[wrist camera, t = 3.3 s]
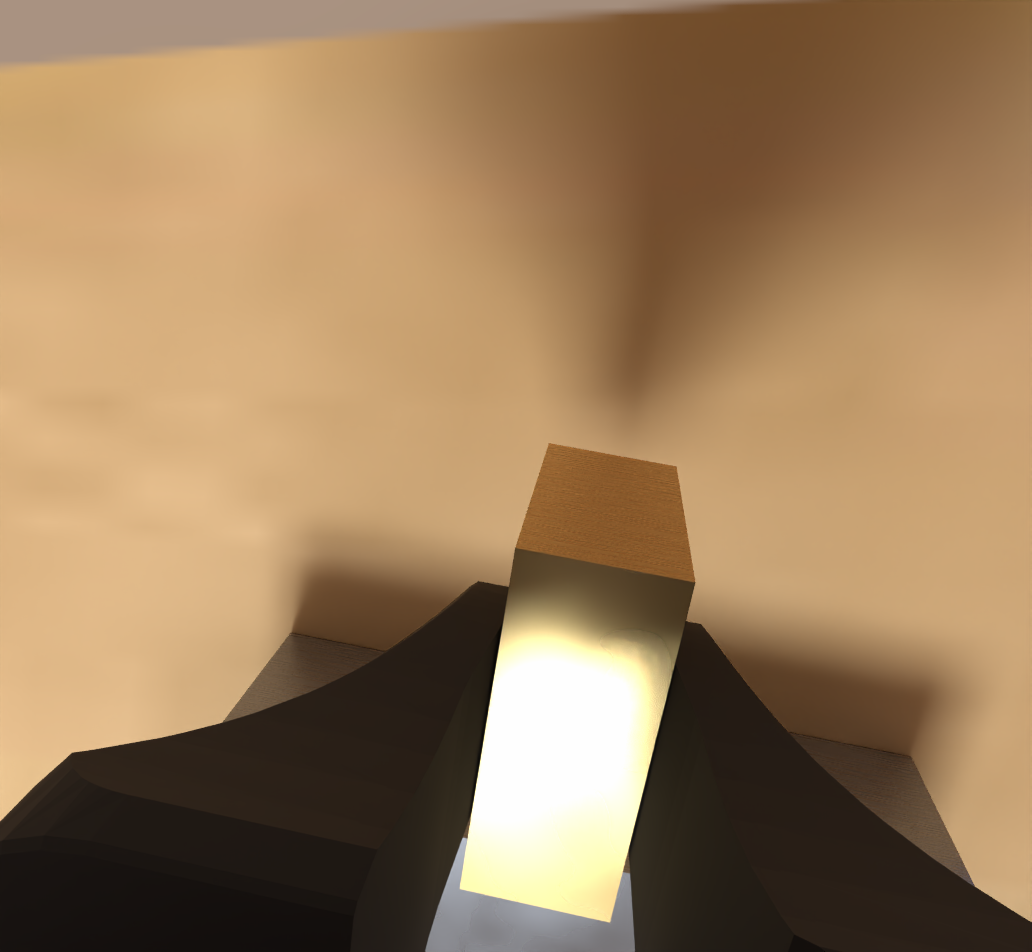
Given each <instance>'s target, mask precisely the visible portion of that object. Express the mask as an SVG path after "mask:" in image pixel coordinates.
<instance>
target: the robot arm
mask: <svg viewBox="0 0 1032 952" xmlns="http://www.w3.org/2000/svg"><path fill="white" fill-rule="evenodd" d="M508 590H509V587H505V586H500V585H495V584H489V583H484V582H479V581H478V582H477V583H475V584H474V585H472V586H470V587H469V588H468V589H467V590H466V591H465V592H463V593H462V594H461V595H460V596H459V597H458V598H457V599H455V600H454V601H453V602H452V603H451V604H450V605H448V606H447V607H446V608H445V609H443V610H442V611H441V612H440V613H439V614H437V615H436V616H435V617H434V618H432V619H431V620H430V621H428V622H427V623H426V624H424V625H423V626H422V627H420V628H419V629H418V630H416V631H415V632H414V633H412V634H411V635H410V636H408V637H407V638H405V639H404V640H403V641H401V642H400V643H398V644H397V645H395V646H393V647H392V648H390V649H389V650H387V651H386V652H384V653H383V654H381V655H380V656H378V657H376V658H375V659H373V660H372V661H370V662H369V663H367V664H365V665H364V666H362V667H360V668H358V669H357V670H355V671H353V672H351V673H349V674H347V675H345V676H343V677H341V678H339V679H337V680H335V681H333V682H331V683H328V684H326V685H324V686H322V687H320V688H318V689H316V690H313V691H311V692H309V693H306V694H303V695H301V696H298V697H295V698H293V699H290V700H287V701H285V702H282V703H280V704H277V705H274V706H272V707H269V708H266V709H264V710H261V711H258V712H256V713H253V714H250V715H246V716H243V717H240V718H236V719H233V720H230V721H226V722H223V723H220V724H216V725H212V726H208V727H204V728H200V729H196V730H193V731H189V732H185V733H181V734H176V735H172V736H167V737H163V738H157V739H152V740H146V741H141V742H135V743H129V744H124V745H118V746H112V747H107V748H101V749H95V750H89V751H82V752H75V753H72V754H71V755H69V756H68V757H67V758H66V759H65V760H64V761H63V762H62V763H60V764H59V765H58V766H57V767H56V768H55V769H54V770H53V771H51V772H50V773H49V774H48V775H47V776H46V777H45V778H44V779H42V780H41V781H40V782H39V783H38V784H37V785H36V786H35V787H34V788H33V789H32V790H31V791H30V792H29V793H28V794H27V795H26V796H25V797H24V798H23V799H22V800H21V801H20V802H19V803H18V804H17V805H16V806H15V807H14V808H13V809H12V810H11V811H10V812H9V813H8V814H7V815H6V816H5V817H4V818H3V819H2V820H1V821H0V952H425V950H426V946H427V942H428V938H429V935H430V931H431V928H432V925H433V922H434V918H435V915H436V912H437V909H438V905H439V903H440V900H441V897H442V894H443V891H444V889H445V886H446V883H447V880H448V877H449V875H450V872H451V869H452V866H453V863H454V861H455V858H456V855H457V852H458V849H459V847H460V844H461V841H462V838H463V835H464V833H465V830H466V827H467V824H468V821H469V819H470V816H471V813H472V810H473V804H474V798H475V792H476V786H477V780H478V773H479V767H480V761H481V755H482V749H483V743H484V737H485V731H486V725H487V718H488V712H489V706H490V700H491V694H492V688H493V682H494V676H495V670H496V663H497V657H498V651H499V645H500V639H501V633H502V627H503V621H504V615H505V608H506V602H507V596H508ZM628 850H629V865H630V881H631V896H632V911H633V927H634V942H635V952H1032V922H1030V921H1028V920H1027V919H1025V918H1023V917H1022V916H1020V915H1018V914H1017V913H1015V912H1014V911H1012V910H1011V909H1009V908H1007V907H1006V906H1004V905H1003V904H1001V903H1000V902H998V901H996V900H995V899H993V898H992V897H990V896H989V895H987V894H985V893H984V892H982V891H981V890H979V889H978V888H976V887H975V886H973V885H971V884H970V883H968V882H967V881H965V880H964V879H962V878H961V877H959V876H958V875H957V874H955V873H954V872H952V871H951V870H949V869H948V868H946V867H945V866H943V865H942V864H941V863H939V862H938V861H936V860H935V859H933V858H932V857H931V856H929V855H928V854H927V853H925V852H924V851H923V850H921V849H920V848H919V847H917V846H916V845H915V844H913V843H912V842H911V841H909V840H908V839H907V838H905V837H904V836H903V835H901V834H900V833H899V832H897V831H896V830H895V829H894V828H892V827H891V826H890V825H888V824H887V823H886V822H884V821H883V820H882V819H881V818H879V817H878V816H877V815H876V814H875V813H873V812H872V811H871V810H870V809H868V808H867V807H866V806H865V805H864V804H862V803H861V802H860V801H859V800H858V799H857V798H856V797H855V796H853V795H852V794H851V793H850V792H849V791H848V790H847V789H846V788H845V787H843V786H842V785H841V784H840V783H839V782H838V781H837V780H836V779H835V778H833V777H832V776H831V775H830V774H829V773H828V772H827V771H826V770H825V769H824V768H823V767H822V766H820V765H819V764H818V763H817V762H816V761H815V760H814V759H813V758H812V757H811V756H810V755H809V754H808V753H807V752H806V751H805V750H804V748H803V747H802V746H801V745H800V744H799V743H798V742H797V741H796V740H795V739H794V738H793V737H792V736H791V735H790V734H789V732H788V731H787V730H786V729H785V728H784V727H783V726H782V725H781V724H780V723H779V722H778V721H777V719H776V718H775V717H774V716H773V715H772V714H771V713H770V711H769V710H768V709H767V708H766V707H765V706H764V704H763V703H762V702H761V701H760V700H759V698H758V697H757V696H756V695H755V693H754V692H753V691H752V690H751V689H750V687H749V686H748V685H747V684H746V682H745V681H744V680H743V679H742V677H741V676H740V675H739V673H738V672H737V671H736V670H735V668H734V667H733V666H732V664H731V663H730V662H729V660H728V659H727V658H726V656H725V655H724V654H723V652H722V651H721V650H720V648H719V647H718V646H717V644H716V643H715V642H714V640H713V639H712V638H711V636H710V635H709V634H708V632H707V631H706V630H705V629H704V627H703V626H702V625H701V624H697V623H692V622H687V621H686V622H685V626H684V630H683V634H682V638H681V642H680V646H679V650H678V653H677V657H676V661H675V665H674V669H673V673H672V677H671V681H670V685H669V689H668V693H667V697H666V701H665V705H664V709H663V713H662V717H661V721H660V725H659V729H658V733H657V737H656V741H655V745H654V749H653V753H652V757H651V761H650V765H649V769H648V773H647V777H646V781H645V785H644V789H643V793H642V797H641V801H640V805H639V809H638V813H637V817H636V821H635V825H634V829H633V833H632V837H631V841H630V845H629V849H628Z"/></svg>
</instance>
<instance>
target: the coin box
mask: <svg viewBox="0 0 1032 952" xmlns="http://www.w3.org/2000/svg"><path fill="white" fill-rule="evenodd" d="M383 653H384V651H379V650H374V649H369V648H364V647H359V646H354V645H349V644H344V643H339V642H334V641H329V640H324V639H319V638H314V637H309V636H304V635H299V634H294V633H290V635H289V636H288V637H287V638H286V640H285V641H284V642H283V644H282V645H281V646H280V648H279V649H278V650H277V652H276V653H275V654H274V656H273V657H272V658H271V660H270V661H269V662H268V663H267V665H266V666H265V667H264V669H263V670H262V671H261V673H260V674H259V675H258V677H257V678H256V679H255V681H254V682H253V683H252V684H251V686H250V687H249V688H248V690H247V691H246V692H245V694H244V695H243V696H242V698H241V699H240V700H239V702H238V703H237V704H236V705H235V707H234V708H233V709H232V711H231V712H230V713H229V715H228V716H227V717H226V719H225V720H224V721H223V722H226V721H230V720H233V719H236V718H240V717H243V716H246V715H250V714H253V713H256V712H258V711H261V710H264V709H266V708H269V707H272V706H274V705H277V704H280V703H282V702H285V701H287V700H290V699H293V698H295V697H298V696H301V695H303V694H306V693H309V692H311V691H313V690H316V689H318V688H320V687H322V686H324V685H326V684H328V683H331V682H333V681H335V680H337V679H339V678H341V677H343V676H345V675H347V674H349V673H351V672H353V671H355V670H357V669H358V668H360V667H362V666H364V665H365V664H367V663H369V662H370V661H372V660H373V659H375V658H376V657H378V656H380V655H381V654H383ZM789 734H790V735H791V736H792V737H793V738H794V739H795V740H796V741H797V742H798V743H799V744H800V745H801V746H802V747H803V748H804V750H805V751H806V752H807V753H808V754H809V755H810V756H811V757H812V758H813V759H814V760H815V761H816V762H817V763H818V764H819V765H820V766H822V767H823V768H824V769H825V770H826V771H827V772H828V773H829V774H830V775H831V776H832V777H833V778H835V779H836V780H837V781H838V782H839V783H840V784H841V785H842V786H843V787H845V788H846V789H847V790H848V791H849V792H850V793H851V794H852V795H853V796H855V797H856V798H857V799H858V800H859V801H860V802H861V803H862V804H864V805H865V806H866V807H867V808H868V809H870V810H871V811H872V812H873V813H875V814H876V815H877V816H878V817H879V818H881V819H882V820H883V821H884V822H886V823H887V824H888V825H890V826H891V827H892V828H894V829H895V830H896V831H897V832H899V833H900V834H901V835H903V836H904V837H905V838H907V839H908V840H909V841H911V842H912V843H913V844H915V845H916V846H917V847H919V848H920V849H921V850H923V851H924V852H925V853H927V854H928V855H929V856H931V857H932V858H933V859H935V860H936V861H938V862H939V863H941V864H942V865H943V866H945V867H946V868H948V869H949V870H951V871H952V872H954V873H955V874H957V875H958V876H959V877H961V878H962V879H964V880H965V881H967V882H968V883H970V884H971V885H973V886H974V884H973V882H972V880H971V878H970V876H969V874H968V872H967V870H966V868H965V866H964V864H963V861H962V859H961V857H960V855H959V853H958V851H957V849H956V847H955V845H954V843H953V841H952V839H951V837H950V835H949V833H948V831H947V829H946V827H945V825H944V823H943V821H942V819H941V817H940V815H939V813H938V811H937V809H936V807H935V805H934V803H933V801H932V799H931V796H930V794H929V792H928V790H927V788H926V786H925V784H924V782H923V780H922V778H921V776H920V774H919V772H918V770H917V768H916V766H915V764H914V762H913V760H912V758H911V757H909V756H904V755H899V754H894V753H889V752H884V751H879V750H874V749H869V748H864V747H859V746H854V745H849V744H844V743H839V742H834V741H829V740H824V739H819V738H814V737H809V736H804V735H799V734H794V733H789ZM471 816H472V813H471ZM471 816H470V819H469V821H468V824H467V827H466V830H465V833H464V835H463V838H462V841H461V844H460V847H459V849H458V852H457V855H456V858H455V861H454V863H453V866H452V869H451V872H450V875H449V877H448V880H447V883H446V886H445V889H444V891H443V894H442V897H441V900H440V903H439V905H438V909H437V912H436V915H435V918H434V922H433V925H432V928H431V931H430V935H429V938H428V942H427V946H426V950H425V952H635V942H634V927H633V911H632V896H631V881H630V865H629V850H628V853H627V857H626V861H625V865H624V869H623V873H622V877H621V881H620V884H619V888H618V892H617V896H616V900H615V904H614V908H613V912H612V916H611V920H610V923H609V922H605V921H600V920H596V919H591V918H587V917H582V916H578V915H574V914H569V913H565V912H560V911H556V910H551V909H547V908H542V907H538V906H533V905H529V904H525V903H520V902H516V901H511V900H507V899H502V898H498V897H493V896H489V895H484V894H480V893H476V892H471V891H467V890H462V889H460V883H461V877H462V871H463V865H464V859H465V853H466V847H467V841H468V835H469V828H470V822H471Z"/></svg>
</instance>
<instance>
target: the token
mask: <svg viewBox="0 0 1032 952" xmlns="http://www.w3.org/2000/svg"><path fill="white" fill-rule="evenodd" d="M694 586H695V577H694V571H693V565H692V559H691V553H690V547H689V541H688V534H687V528H686V522H685V516H684V510H683V504H682V498H681V492H680V485H679V479H678V473H677V467H676V466H671V465H665V464H660V463H654V462H649V461H643V460H638V459H632V458H627V457H621V456H616V455H610V454H605V453H599V452H594V451H588V450H583V449H577V448H572V447H567V446H561V445H556V444H550V443H549V445H548V448H547V451H546V454H545V457H544V460H543V463H542V467H541V470H540V473H539V476H538V479H537V482H536V485H535V488H534V491H533V495H532V498H531V501H530V504H529V507H528V510H527V513H526V516H525V520H524V523H523V526H522V529H521V532H520V535H519V538H518V541H517V544H516V548H515V553H514V560H513V566H512V572H511V578H510V584H509V590H508V596H507V602H506V608H505V615H504V621H503V627H502V633H501V639H500V645H499V651H498V657H497V663H496V670H495V676H494V682H493V688H492V694H491V700H490V706H489V712H488V718H487V725H486V731H485V737H484V743H483V749H482V755H481V761H480V767H479V773H478V780H477V786H476V792H475V798H474V804H473V810H472V816H471V822H470V828H469V835H468V841H467V847H466V853H465V859H464V865H463V871H462V877H461V883H460V889H462V890H467V891H471V892H476V893H480V894H484V895H489V896H493V897H498V898H502V899H507V900H511V901H516V902H520V903H525V904H529V905H533V906H538V907H542V908H547V909H551V910H556V911H560V912H565V913H569V914H574V915H578V916H582V917H587V918H591V919H596V920H600V921H605V922H609V923H610V920H611V916H612V912H613V908H614V904H615V900H616V896H617V892H618V888H619V884H620V881H621V877H622V873H623V869H624V865H625V861H626V857H627V853H628V849H629V845H630V841H631V837H632V833H633V829H634V825H635V821H636V817H637V813H638V809H639V805H640V801H641V797H642V793H643V789H644V785H645V781H646V777H647V773H648V769H649V765H650V761H651V757H652V753H653V749H654V745H655V741H656V737H657V733H658V729H659V725H660V721H661V717H662V713H663V709H664V705H665V701H666V697H667V693H668V689H669V685H670V681H671V677H672V673H673V669H674V665H675V661H676V657H677V653H678V650H679V646H680V642H681V638H682V634H683V630H684V626H685V622H686V618H687V614H688V610H689V606H690V602H691V598H692V594H693V590H694Z"/></svg>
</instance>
